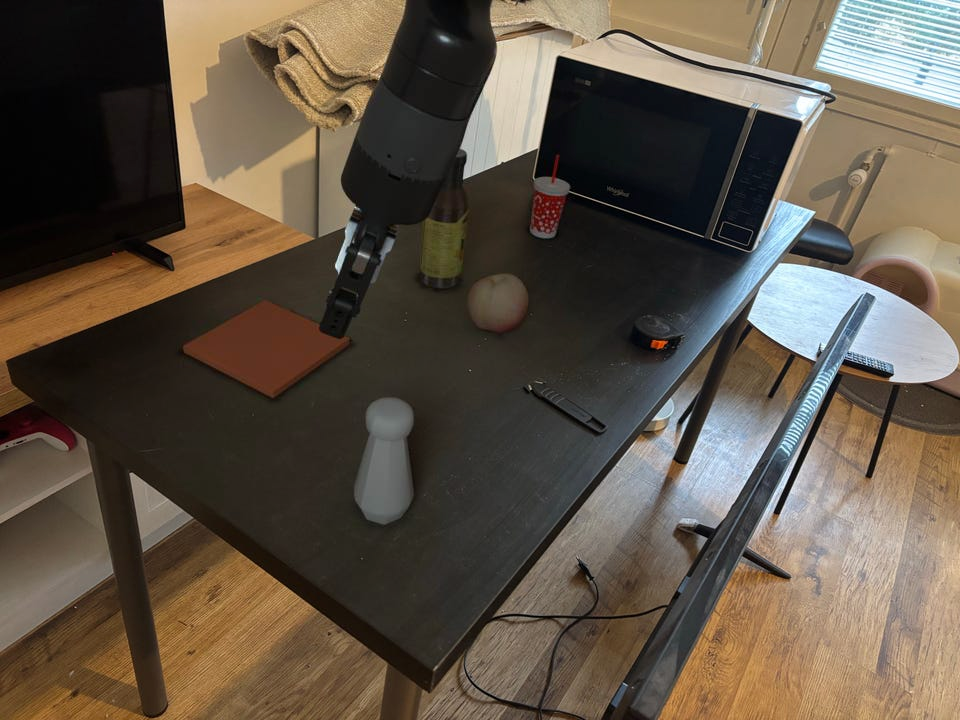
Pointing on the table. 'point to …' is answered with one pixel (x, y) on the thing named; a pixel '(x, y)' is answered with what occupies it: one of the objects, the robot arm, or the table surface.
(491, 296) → the fruit
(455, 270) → the sauce bottle
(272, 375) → the mat
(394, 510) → the salt shaker
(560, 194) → the beverage cup
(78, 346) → the table surface
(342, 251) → the robot arm
